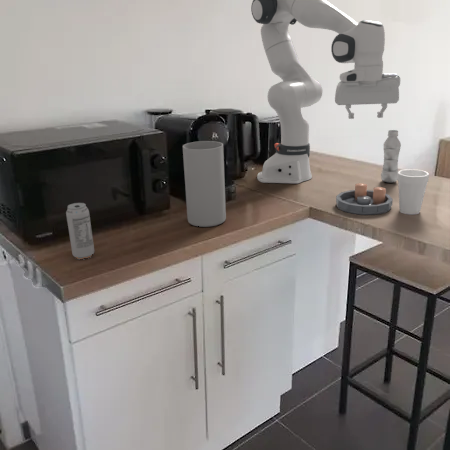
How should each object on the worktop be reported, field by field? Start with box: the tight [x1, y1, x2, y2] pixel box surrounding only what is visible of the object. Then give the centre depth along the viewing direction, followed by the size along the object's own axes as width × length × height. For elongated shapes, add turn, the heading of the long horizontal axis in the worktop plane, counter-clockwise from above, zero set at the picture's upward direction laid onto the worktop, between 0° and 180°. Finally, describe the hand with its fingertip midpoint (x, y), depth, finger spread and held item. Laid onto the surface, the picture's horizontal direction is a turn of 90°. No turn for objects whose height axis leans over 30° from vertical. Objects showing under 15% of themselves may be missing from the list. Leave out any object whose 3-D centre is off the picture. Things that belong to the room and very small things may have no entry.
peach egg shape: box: [372, 186, 387, 205], centre depth 173 cm, size 4×4×5 cm
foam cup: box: [397, 168, 430, 216], centre depth 166 cm, size 10×9×13 cm
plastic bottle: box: [380, 129, 402, 183], centre depth 196 cm, size 6×7×20 cm
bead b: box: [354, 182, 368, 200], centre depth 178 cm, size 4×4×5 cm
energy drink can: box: [65, 202, 95, 258], centre depth 141 cm, size 6×6×15 cm
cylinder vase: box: [182, 140, 227, 228], centre depth 162 cm, size 12×12×25 cm
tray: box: [335, 189, 393, 216], centre depth 174 cm, size 18×18×3 cm
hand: (365, 118), depth 169 cm, fingers open, 8 cm apart
